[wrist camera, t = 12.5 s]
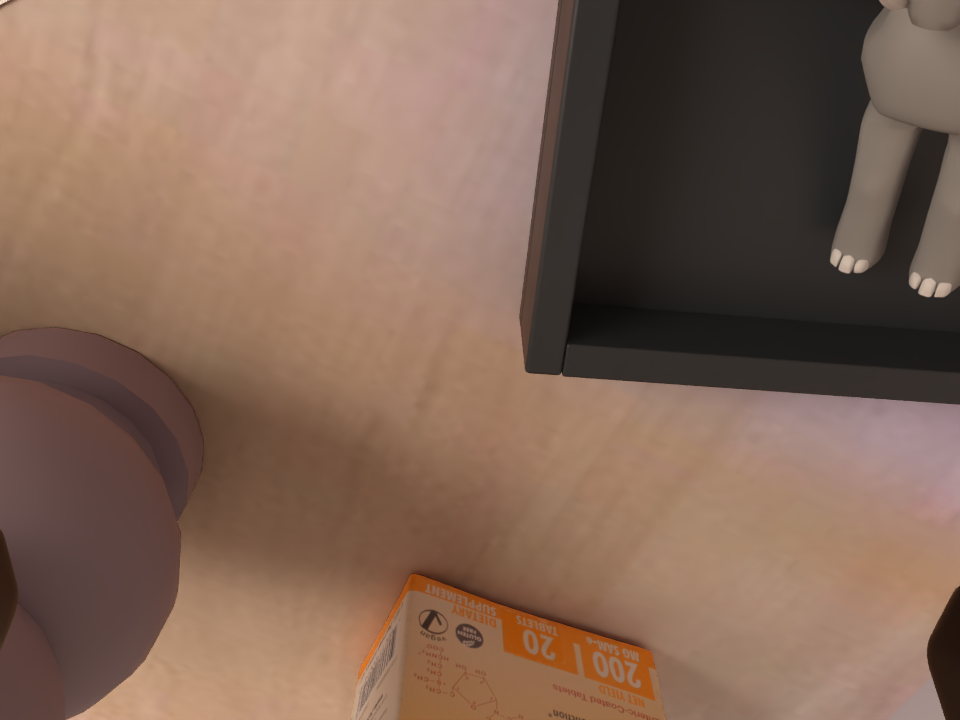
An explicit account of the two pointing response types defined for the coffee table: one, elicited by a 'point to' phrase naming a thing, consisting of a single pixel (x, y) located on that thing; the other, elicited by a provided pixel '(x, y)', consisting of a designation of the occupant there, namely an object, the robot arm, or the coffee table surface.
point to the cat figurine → (87, 514)
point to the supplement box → (497, 665)
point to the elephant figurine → (906, 141)
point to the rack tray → (723, 207)
